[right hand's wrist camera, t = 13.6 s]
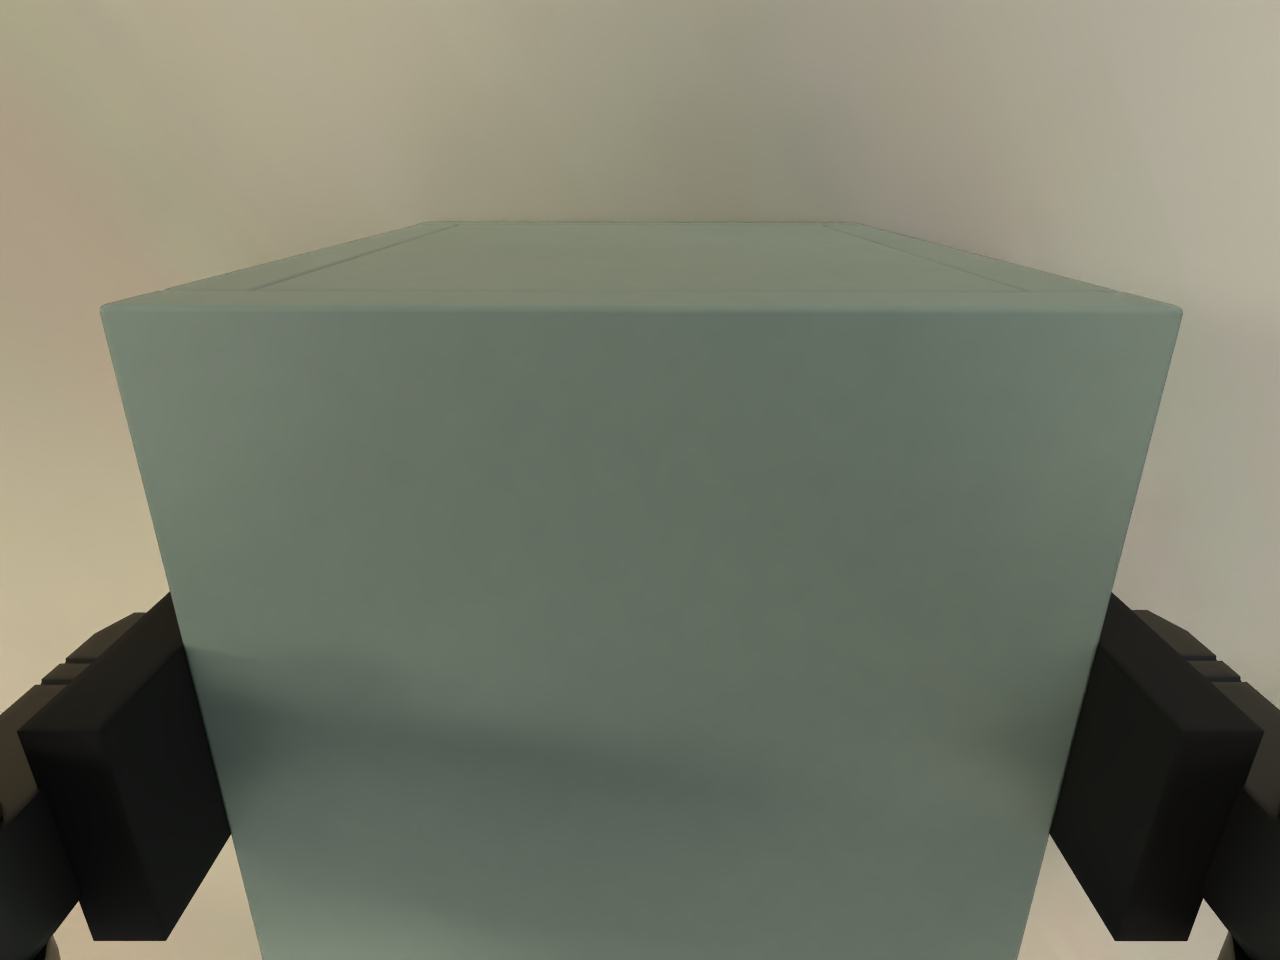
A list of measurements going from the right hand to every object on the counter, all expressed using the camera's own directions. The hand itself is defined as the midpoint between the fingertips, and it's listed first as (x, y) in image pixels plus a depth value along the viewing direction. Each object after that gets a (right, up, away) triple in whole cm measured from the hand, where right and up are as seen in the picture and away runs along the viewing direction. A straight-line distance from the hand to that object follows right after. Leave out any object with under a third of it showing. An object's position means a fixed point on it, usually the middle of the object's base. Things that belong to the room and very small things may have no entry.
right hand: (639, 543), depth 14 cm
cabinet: (0, -2, +8) cm, 8 cm away
